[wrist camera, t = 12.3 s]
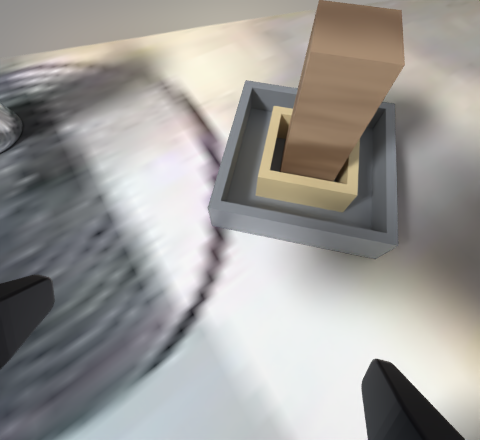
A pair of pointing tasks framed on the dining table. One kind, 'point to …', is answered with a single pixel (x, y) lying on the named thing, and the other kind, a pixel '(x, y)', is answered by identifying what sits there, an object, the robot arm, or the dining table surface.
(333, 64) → the post
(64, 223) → the dining table surface
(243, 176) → the housing
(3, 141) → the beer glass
